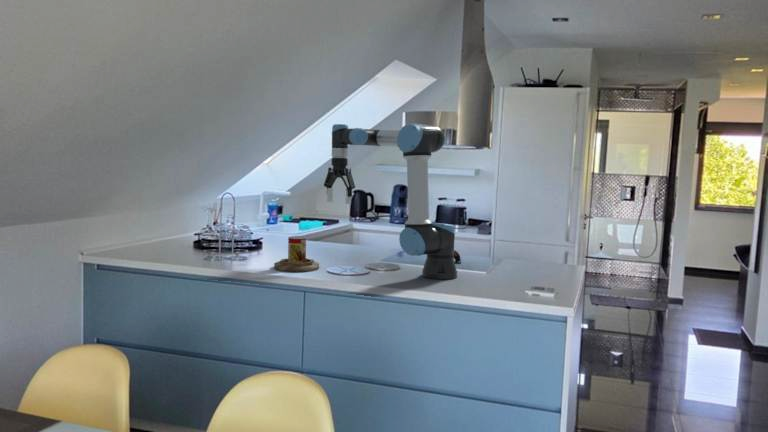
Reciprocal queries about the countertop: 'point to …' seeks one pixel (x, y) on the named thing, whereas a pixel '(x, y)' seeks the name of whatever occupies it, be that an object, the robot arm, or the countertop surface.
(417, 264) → the countertop surface
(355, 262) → the countertop surface
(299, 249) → the canned food
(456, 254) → the pottery mug
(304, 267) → the hub trivet
